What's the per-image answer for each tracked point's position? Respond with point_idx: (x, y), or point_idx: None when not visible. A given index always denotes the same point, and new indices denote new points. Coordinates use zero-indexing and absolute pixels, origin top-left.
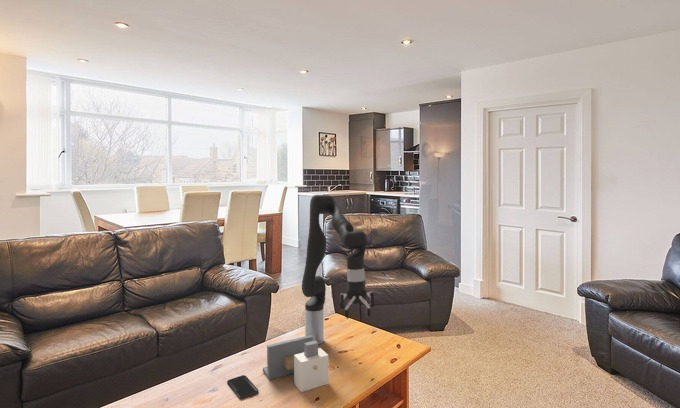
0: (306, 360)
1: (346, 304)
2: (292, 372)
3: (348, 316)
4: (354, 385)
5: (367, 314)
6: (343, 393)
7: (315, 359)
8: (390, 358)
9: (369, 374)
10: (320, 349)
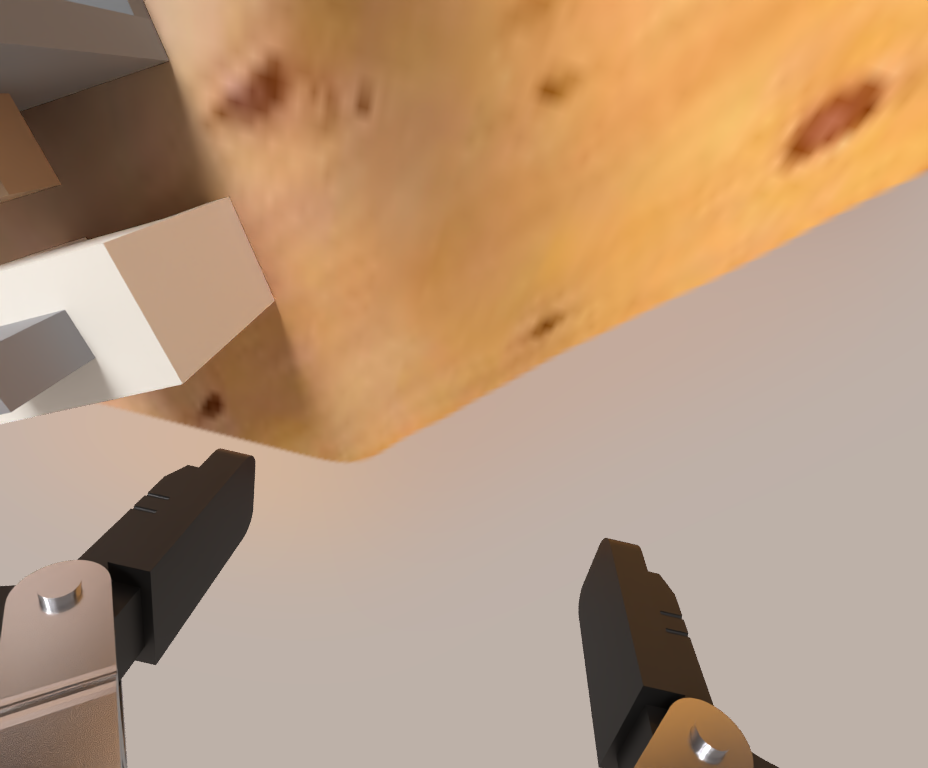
0: (16, 413)
1: (21, 691)
2: (22, 109)
3: (231, 554)
4: (420, 356)
5: (588, 648)
6: (345, 404)
7: (86, 403)
8: (830, 83)
9: (549, 271)
10: (105, 270)
